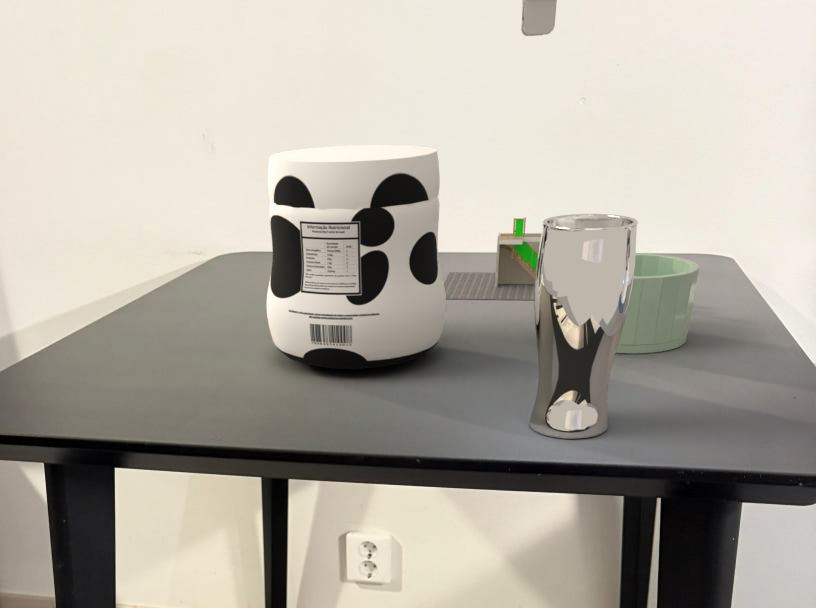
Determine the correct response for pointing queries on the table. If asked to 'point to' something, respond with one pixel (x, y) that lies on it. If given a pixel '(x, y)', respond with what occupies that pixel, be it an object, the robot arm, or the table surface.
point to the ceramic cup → (659, 304)
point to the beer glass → (580, 318)
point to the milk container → (355, 255)
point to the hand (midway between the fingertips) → (535, 35)
